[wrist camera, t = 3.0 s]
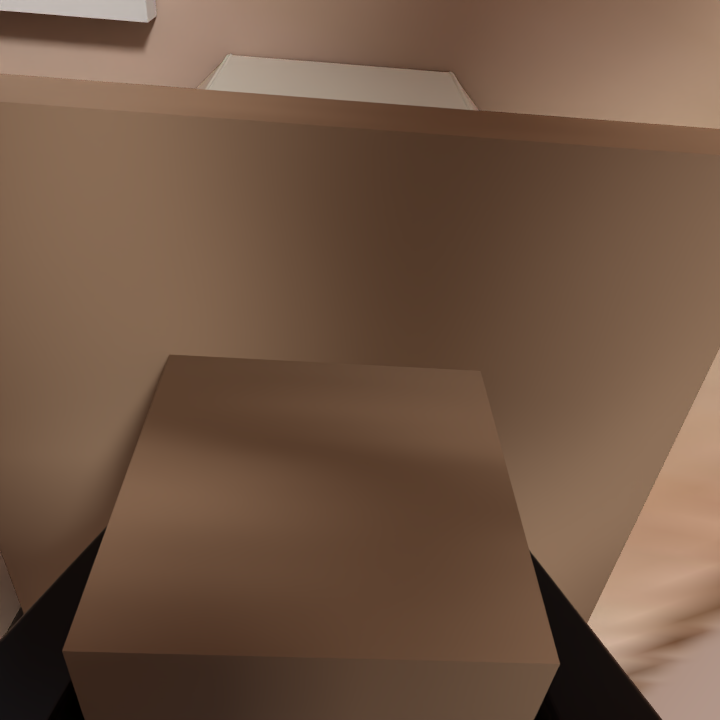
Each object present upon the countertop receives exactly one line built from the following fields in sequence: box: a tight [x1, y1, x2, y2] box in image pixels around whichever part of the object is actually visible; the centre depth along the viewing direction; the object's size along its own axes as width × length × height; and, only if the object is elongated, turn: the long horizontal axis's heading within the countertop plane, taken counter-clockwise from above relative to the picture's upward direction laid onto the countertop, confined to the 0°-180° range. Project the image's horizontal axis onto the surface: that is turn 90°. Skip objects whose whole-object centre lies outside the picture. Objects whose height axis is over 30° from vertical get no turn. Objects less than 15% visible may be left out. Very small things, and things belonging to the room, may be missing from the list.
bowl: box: [196, 54, 479, 111], centre depth 12 cm, size 9×9×4 cm
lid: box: [0, 74, 720, 720], centre depth 9 cm, size 10×10×5 cm
